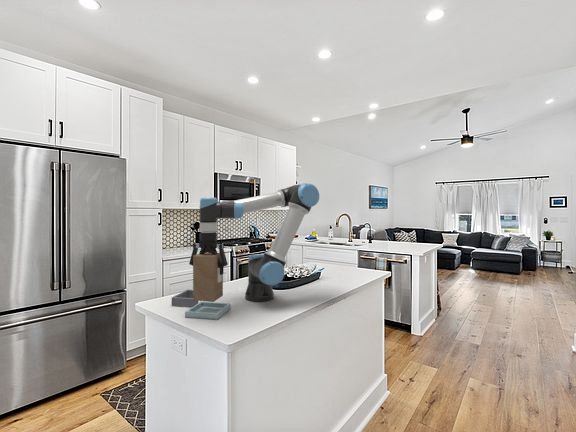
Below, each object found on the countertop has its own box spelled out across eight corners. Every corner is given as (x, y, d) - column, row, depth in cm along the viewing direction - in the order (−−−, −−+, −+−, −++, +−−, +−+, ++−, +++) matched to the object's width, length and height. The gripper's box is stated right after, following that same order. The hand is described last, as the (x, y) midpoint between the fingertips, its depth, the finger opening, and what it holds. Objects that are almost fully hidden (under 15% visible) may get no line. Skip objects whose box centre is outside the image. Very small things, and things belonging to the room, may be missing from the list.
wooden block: (213, 302, 134) (213, 256, 134) (192, 300, 136) (192, 255, 136) (223, 295, 144) (223, 252, 143) (203, 294, 146) (203, 252, 145)
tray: (230, 308, 146) (230, 303, 146) (217, 319, 131) (217, 314, 131) (200, 306, 149) (200, 301, 149) (185, 317, 134) (184, 311, 134)
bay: (210, 298, 162) (210, 290, 162) (197, 307, 148) (197, 299, 147) (187, 297, 165) (187, 289, 165) (171, 305, 150) (171, 297, 150)
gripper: (235, 231, 141) (235, 280, 141) (189, 230, 145) (189, 278, 145) (229, 233, 133) (229, 284, 134) (180, 232, 138) (180, 281, 138)
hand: (208, 281), depth 140 cm, fingers closed on wooden block, 10 cm apart
